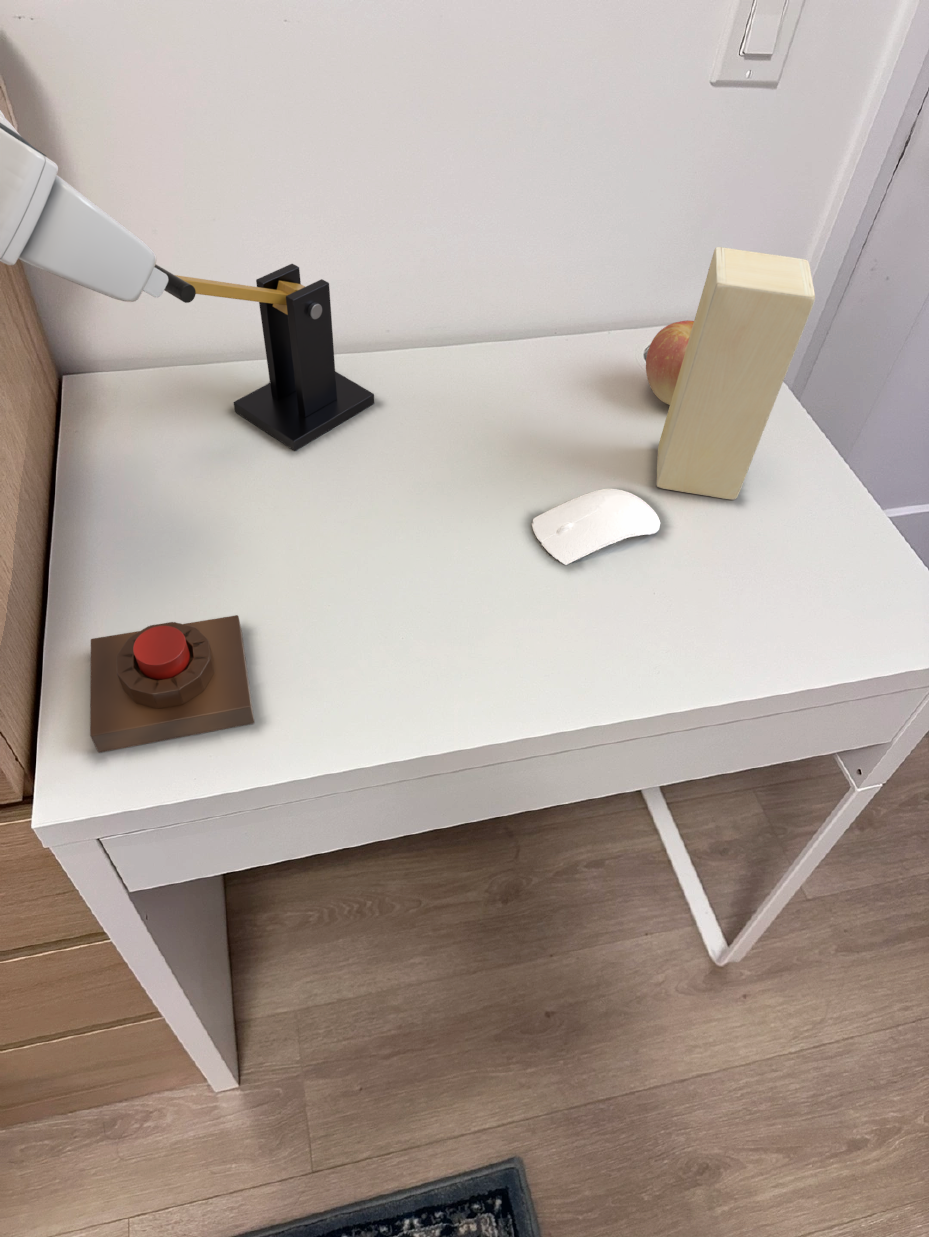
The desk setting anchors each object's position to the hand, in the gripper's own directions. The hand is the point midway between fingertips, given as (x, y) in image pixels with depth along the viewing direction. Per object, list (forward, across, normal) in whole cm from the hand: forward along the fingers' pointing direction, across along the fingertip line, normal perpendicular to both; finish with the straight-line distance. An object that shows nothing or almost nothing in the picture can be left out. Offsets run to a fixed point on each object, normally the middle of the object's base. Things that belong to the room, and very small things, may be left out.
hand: (120, 260), depth 64 cm
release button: (+3, +19, -23) cm, 30 cm away
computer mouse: (+32, +31, +1) cm, 45 cm away
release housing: (+6, +19, -25) cm, 32 cm away
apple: (+49, +25, +18) cm, 57 cm away
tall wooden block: (+42, +33, +11) cm, 55 cm away
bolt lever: (+13, -1, +1) cm, 13 cm away
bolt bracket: (+27, -1, -4) cm, 27 cm away
